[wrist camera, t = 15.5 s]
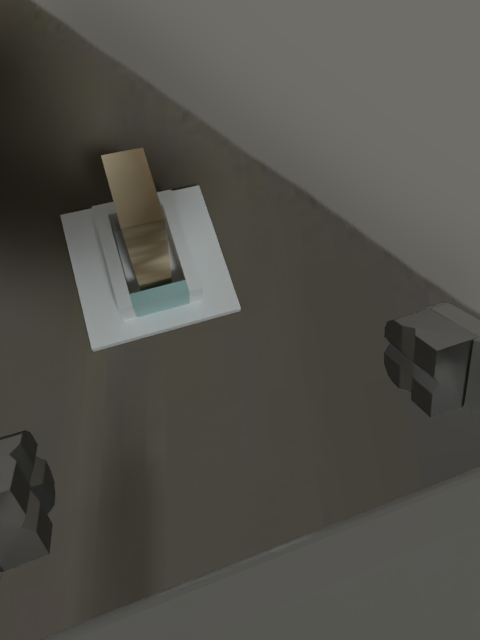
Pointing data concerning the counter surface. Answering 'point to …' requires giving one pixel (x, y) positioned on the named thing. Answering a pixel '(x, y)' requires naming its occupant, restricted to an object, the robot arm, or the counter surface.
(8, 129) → the counter surface
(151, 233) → the wooden block
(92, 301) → the white square socket base
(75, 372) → the counter surface
